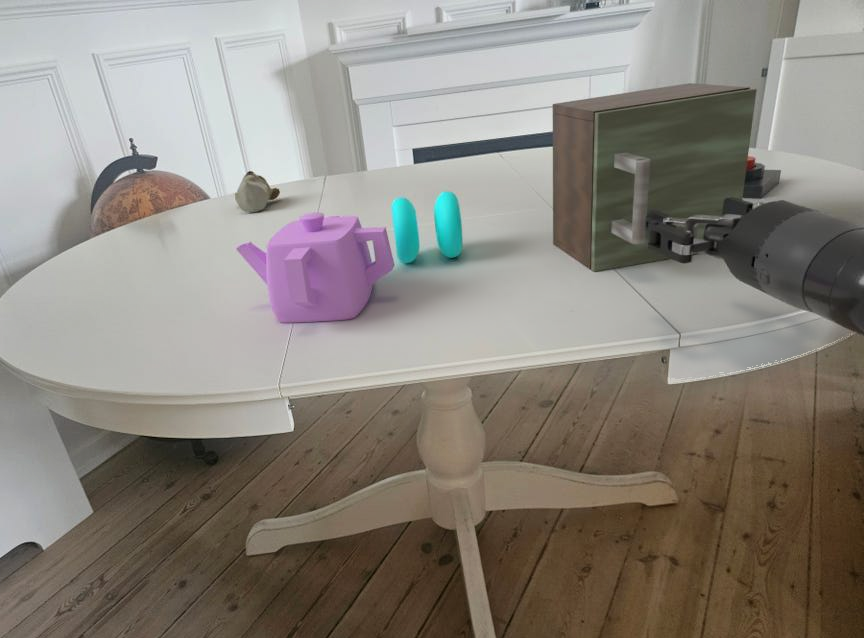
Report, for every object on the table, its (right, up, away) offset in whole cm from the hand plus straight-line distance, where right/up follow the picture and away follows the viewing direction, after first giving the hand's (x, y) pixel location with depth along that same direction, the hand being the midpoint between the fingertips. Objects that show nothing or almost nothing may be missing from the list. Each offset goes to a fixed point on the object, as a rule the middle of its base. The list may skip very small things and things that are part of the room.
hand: (687, 213), depth 66 cm
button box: (+31, +15, +45) cm, 57 cm away
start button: (+30, +18, +44) cm, 56 cm away
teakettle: (-40, -7, +22) cm, 46 cm away
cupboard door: (+7, -3, +17) cm, 18 cm away
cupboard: (+5, +1, +26) cm, 26 cm away
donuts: (-25, 0, +32) cm, 41 cm away
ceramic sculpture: (-62, +20, +82) cm, 105 cm away
